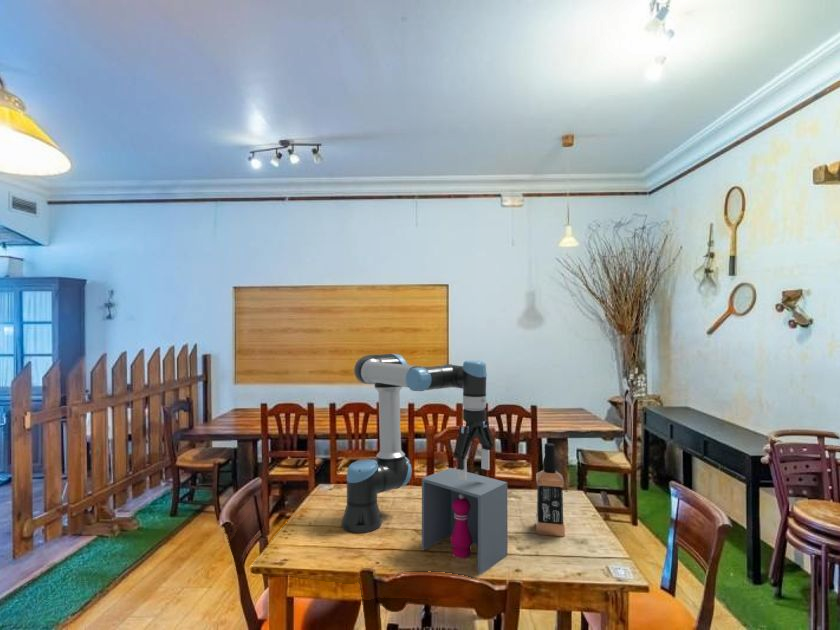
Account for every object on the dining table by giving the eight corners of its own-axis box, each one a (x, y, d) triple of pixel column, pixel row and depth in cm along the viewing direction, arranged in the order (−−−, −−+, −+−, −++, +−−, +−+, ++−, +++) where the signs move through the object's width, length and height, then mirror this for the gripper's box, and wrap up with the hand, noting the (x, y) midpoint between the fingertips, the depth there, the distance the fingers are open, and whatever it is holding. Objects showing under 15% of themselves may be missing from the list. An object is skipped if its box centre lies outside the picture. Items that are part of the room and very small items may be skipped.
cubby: (421, 549, 155) (421, 478, 156) (450, 533, 167) (450, 467, 168) (480, 574, 139) (480, 495, 140) (507, 555, 151) (507, 482, 152)
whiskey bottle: (565, 537, 165) (564, 448, 166) (537, 534, 167) (536, 446, 168) (562, 524, 175) (561, 441, 176) (535, 522, 177) (535, 439, 178)
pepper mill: (454, 560, 148) (455, 498, 148) (447, 550, 155) (447, 490, 155) (475, 557, 150) (475, 496, 150) (467, 547, 157) (467, 488, 157)
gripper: (462, 415, 136) (461, 487, 136) (503, 404, 155) (503, 467, 155) (442, 412, 141) (441, 481, 141) (485, 402, 160) (484, 463, 160)
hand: (474, 474), depth 148 cm, fingers open, 13 cm apart
